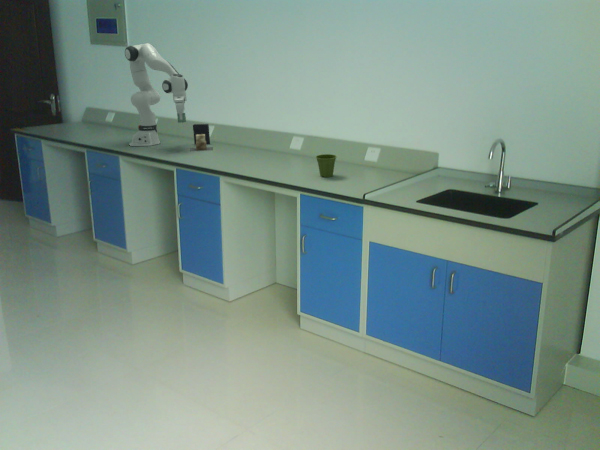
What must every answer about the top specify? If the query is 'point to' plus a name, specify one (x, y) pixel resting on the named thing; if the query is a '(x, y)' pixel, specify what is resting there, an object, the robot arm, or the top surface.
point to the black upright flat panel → (201, 131)
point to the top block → (200, 138)
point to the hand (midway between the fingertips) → (181, 118)
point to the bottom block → (201, 146)
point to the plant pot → (326, 164)
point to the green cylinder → (182, 119)
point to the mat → (201, 150)
